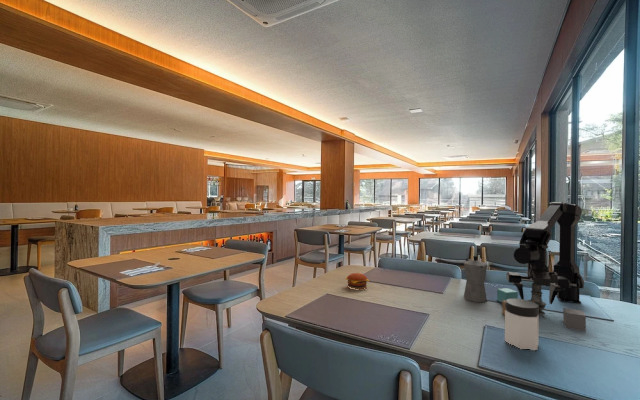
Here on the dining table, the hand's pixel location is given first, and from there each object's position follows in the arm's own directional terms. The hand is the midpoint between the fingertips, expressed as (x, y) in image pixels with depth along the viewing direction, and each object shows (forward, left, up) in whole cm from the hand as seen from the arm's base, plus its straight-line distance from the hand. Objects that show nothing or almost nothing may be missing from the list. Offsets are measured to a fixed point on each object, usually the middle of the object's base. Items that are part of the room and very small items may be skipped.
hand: (536, 302), depth 112 cm
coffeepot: (+20, -9, -4) cm, 22 cm away
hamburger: (+70, -5, -4) cm, 70 cm away
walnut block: (+9, +8, -4) cm, 13 cm away
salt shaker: (0, 0, -4) cm, 4 cm away
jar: (+11, +30, -4) cm, 32 cm away
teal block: (+8, -8, -4) cm, 12 cm away
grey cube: (-8, +10, -4) cm, 13 cm away
